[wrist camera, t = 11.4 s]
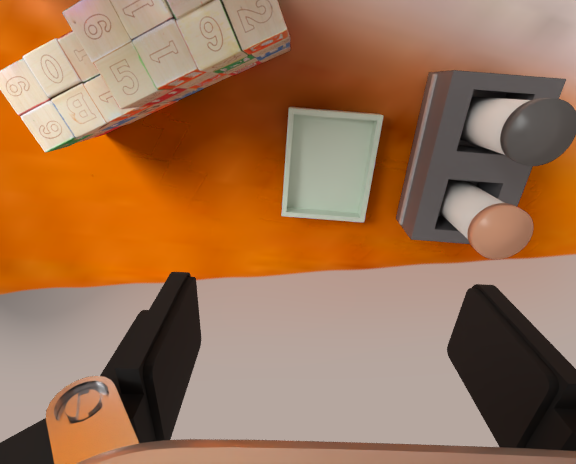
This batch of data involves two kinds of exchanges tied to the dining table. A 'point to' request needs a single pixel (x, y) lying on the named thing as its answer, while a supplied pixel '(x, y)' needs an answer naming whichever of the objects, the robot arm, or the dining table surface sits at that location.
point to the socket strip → (460, 149)
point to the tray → (329, 163)
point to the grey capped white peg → (521, 127)
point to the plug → (486, 220)
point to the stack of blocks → (136, 62)
